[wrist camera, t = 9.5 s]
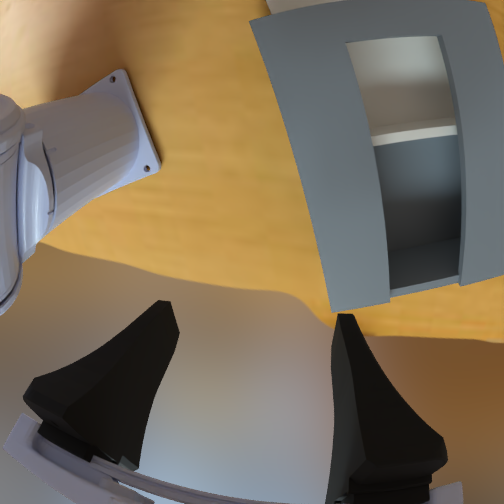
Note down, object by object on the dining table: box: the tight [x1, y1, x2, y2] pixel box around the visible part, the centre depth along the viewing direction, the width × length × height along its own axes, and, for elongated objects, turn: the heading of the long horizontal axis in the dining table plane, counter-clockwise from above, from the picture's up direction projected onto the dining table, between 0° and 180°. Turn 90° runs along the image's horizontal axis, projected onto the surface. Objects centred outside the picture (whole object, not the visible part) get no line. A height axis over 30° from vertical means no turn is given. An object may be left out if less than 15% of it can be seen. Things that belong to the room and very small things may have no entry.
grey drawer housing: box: [249, 0, 504, 313], centre depth 14 cm, size 12×16×5 cm
